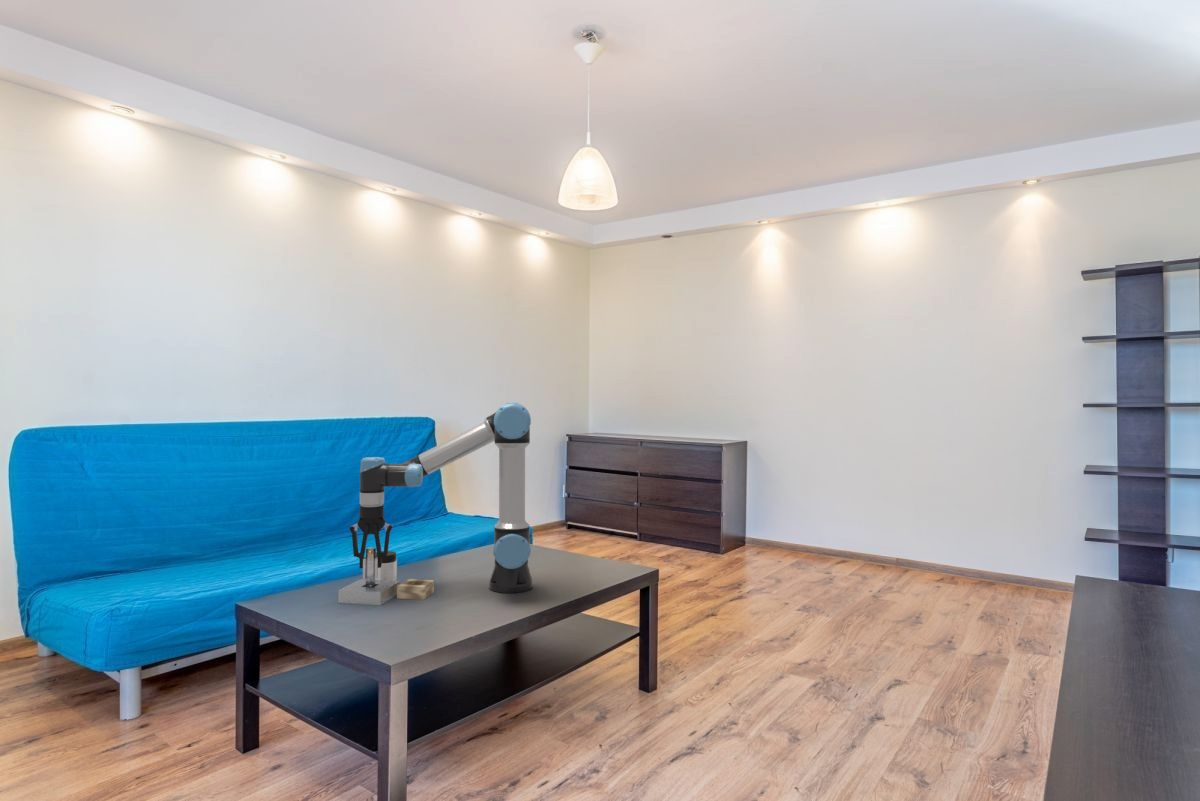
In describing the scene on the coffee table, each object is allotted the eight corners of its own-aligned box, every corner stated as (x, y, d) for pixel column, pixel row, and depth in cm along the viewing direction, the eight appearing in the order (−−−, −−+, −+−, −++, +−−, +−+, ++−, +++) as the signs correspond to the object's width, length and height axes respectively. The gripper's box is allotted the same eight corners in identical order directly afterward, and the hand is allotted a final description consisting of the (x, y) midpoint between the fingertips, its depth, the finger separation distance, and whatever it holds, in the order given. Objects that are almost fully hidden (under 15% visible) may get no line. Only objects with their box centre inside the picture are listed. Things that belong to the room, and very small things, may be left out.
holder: (434, 595, 225) (434, 580, 225) (423, 602, 216) (423, 587, 216) (408, 593, 226) (408, 578, 226) (396, 601, 217) (397, 585, 218)
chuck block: (399, 596, 223) (400, 581, 223) (380, 608, 209) (380, 592, 209) (359, 594, 225) (360, 579, 225) (338, 606, 211) (338, 590, 211)
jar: (373, 592, 227) (374, 556, 228) (367, 587, 234) (367, 552, 235) (399, 589, 232) (400, 554, 233) (393, 583, 239) (393, 550, 239)
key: (373, 594, 214) (374, 550, 214) (363, 595, 213) (364, 550, 214) (376, 589, 221) (377, 546, 221) (366, 589, 220) (367, 546, 221)
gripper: (398, 503, 223) (397, 574, 223) (347, 504, 220) (345, 576, 219) (396, 506, 216) (395, 579, 215) (343, 507, 212) (342, 582, 212)
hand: (370, 577), depth 217 cm, fingers closed on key, 3 cm apart
